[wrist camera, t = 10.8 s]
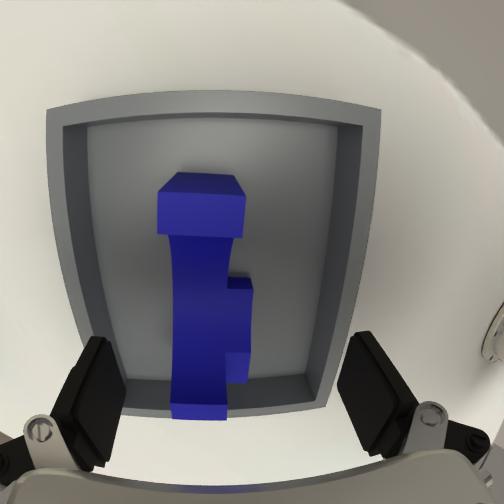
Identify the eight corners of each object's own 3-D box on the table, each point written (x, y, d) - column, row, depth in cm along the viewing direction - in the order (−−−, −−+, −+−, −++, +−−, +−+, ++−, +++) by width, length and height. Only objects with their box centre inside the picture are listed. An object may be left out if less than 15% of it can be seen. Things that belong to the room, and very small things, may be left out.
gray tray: (346, 113, 16) (381, 109, 12) (311, 372, 23) (325, 406, 19) (79, 113, 13) (46, 109, 10) (121, 377, 21) (111, 413, 17)
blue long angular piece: (242, 352, 20) (253, 419, 14) (178, 351, 19) (172, 418, 14) (261, 177, 16) (289, 199, 10) (177, 171, 15) (157, 191, 9)
